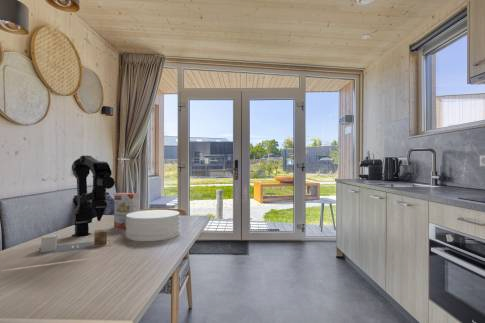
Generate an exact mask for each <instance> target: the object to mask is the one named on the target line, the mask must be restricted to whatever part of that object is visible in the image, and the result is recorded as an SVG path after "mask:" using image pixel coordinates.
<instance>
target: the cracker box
mask: <svg viewBox="0 0 485 323" xmlns="http://www.w3.org/2000/svg"><path fill="white" fill-rule="evenodd" d="M113 208H114V209H113V213H114V214H113V216H114V217H113V227H114V228H120V229H127V228H126V224H127V223H126V219H127V218H126V215H127V214H129V213H132V212H137V211H140V193H135V192H134V193H132V192H131V193H130V192H115V193H114V203H113Z"/></svg>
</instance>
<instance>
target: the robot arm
mask: <svg viewBox="0 0 485 323" xmlns="http://www.w3.org/2000/svg"><path fill="white" fill-rule="evenodd" d="M71 171H72V175H73V176H74V178H75V179H76V192H77V194H76V195H77V206H76V207H75V208H74V214H73V215H72V218H71V222H70V223H71V225H72V226H74V233H73V234H71V236H72V237H80V238H81V237H84V236H88V235H91V232H89V230H90V229H89V224H92V222H93V218H94V214H93V211H92V210H94V211H95V214H96V219H97V220H96V221H97V222H101V221H102V220H101V219H102V218H103V215H104V213H105V211H106V210H107V207H108V202H107V198H106V197H107V196H106V195H107V190H108V189H109V190H111V189H112V188H113V187H114V186H115V182H116V180H115V179H114V178H113V177H112V175H113V174H112V173H113V171H112V169H111V167H110V164H109V163H108V162H107V161H103V160H102V161H101V160H97V159H95V157H93V156H92V155H80V157H79V158H77V159H75V160H74V161H73V163H72V165H71ZM90 172H91V173H92V176H91V177H92V190H91V192H89V193H88V182H87V180H88V176H89V174H90ZM89 201H91V206H90V205H89V204H88V202H89Z"/></svg>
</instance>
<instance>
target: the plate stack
mask: <svg viewBox="0 0 485 323" xmlns="http://www.w3.org/2000/svg"><path fill="white" fill-rule="evenodd" d="M180 215H181V214H180V212H179V211H178V210H173V209H149V210H148V209H147V210H139V211H137V212H132V213H129V214H127V215H126V218H127V219H126V223H127V224H126V228H125V238H126V239H127V240H130V241H136V242H152V241H153V242H154V241H162V240H168V239H172V238H175V237H178V236H179V235H178V234H180Z"/></svg>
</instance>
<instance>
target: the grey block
mask: <svg viewBox="0 0 485 323" xmlns="http://www.w3.org/2000/svg"><path fill="white" fill-rule="evenodd" d="M40 241H41V244H40V246H41V252H47V251H55V250H56V248H57V246H58V244H57V243H58V242H57V241H58V235H57V234H55V233H54V234H43V235H42V237H41V240H40Z"/></svg>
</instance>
